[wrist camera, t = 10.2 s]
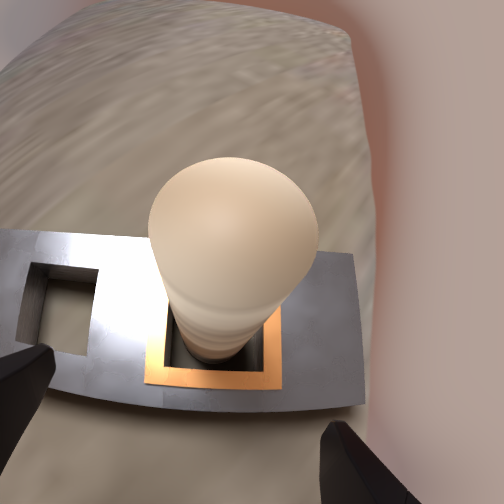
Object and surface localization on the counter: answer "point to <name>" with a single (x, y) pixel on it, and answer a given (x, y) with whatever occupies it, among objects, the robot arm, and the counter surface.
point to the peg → (229, 250)
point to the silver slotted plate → (160, 330)
